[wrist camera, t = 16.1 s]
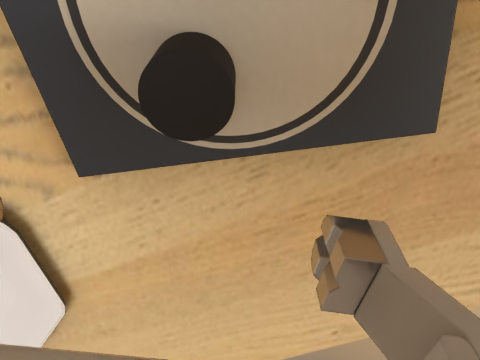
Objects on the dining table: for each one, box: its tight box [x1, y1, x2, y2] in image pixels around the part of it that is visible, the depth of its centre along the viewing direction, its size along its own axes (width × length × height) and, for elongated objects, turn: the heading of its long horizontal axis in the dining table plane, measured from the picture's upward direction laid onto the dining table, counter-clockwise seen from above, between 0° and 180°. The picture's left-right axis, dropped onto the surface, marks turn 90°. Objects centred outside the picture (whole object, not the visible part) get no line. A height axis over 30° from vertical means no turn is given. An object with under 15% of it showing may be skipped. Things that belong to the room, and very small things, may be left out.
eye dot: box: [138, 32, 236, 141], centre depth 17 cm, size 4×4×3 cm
